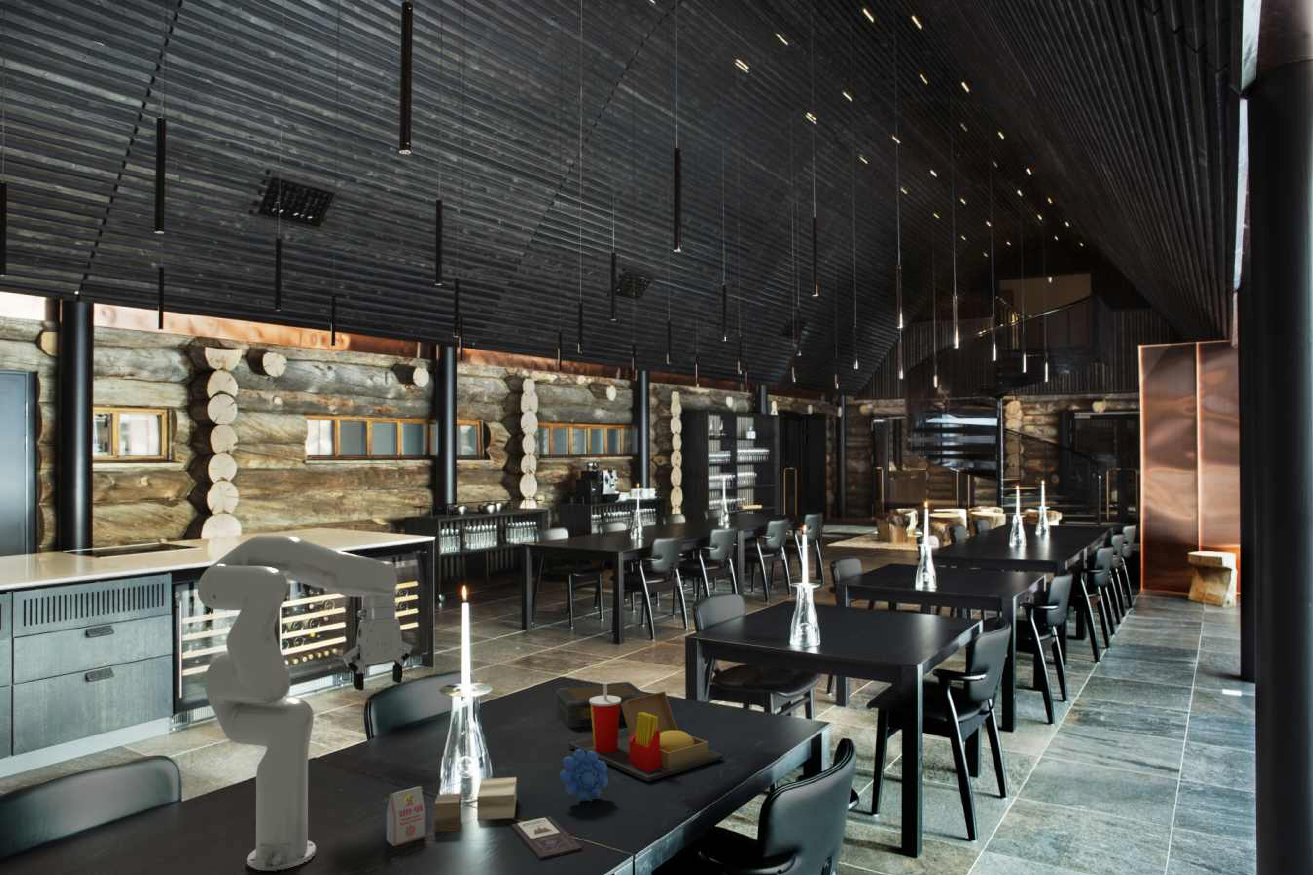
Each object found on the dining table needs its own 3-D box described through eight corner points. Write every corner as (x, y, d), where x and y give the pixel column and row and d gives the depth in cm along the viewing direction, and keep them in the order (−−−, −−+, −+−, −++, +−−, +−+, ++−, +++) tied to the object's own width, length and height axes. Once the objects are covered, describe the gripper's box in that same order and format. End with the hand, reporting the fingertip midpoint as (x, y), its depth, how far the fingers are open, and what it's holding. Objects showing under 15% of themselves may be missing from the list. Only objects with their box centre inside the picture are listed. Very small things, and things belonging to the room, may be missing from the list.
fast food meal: (647, 785, 208) (646, 709, 208) (568, 750, 235) (567, 682, 236) (723, 762, 224) (722, 691, 225) (641, 731, 251) (640, 668, 252)
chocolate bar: (540, 857, 168) (511, 824, 184) (540, 862, 168) (511, 828, 184) (582, 847, 172) (550, 816, 188) (582, 852, 172) (550, 820, 188)
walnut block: (458, 830, 182) (458, 802, 182) (434, 832, 182) (434, 803, 182) (461, 821, 187) (461, 793, 187) (437, 822, 187) (437, 794, 187)
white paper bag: (386, 840, 178) (386, 791, 178) (417, 831, 182) (417, 783, 182) (393, 846, 175) (393, 796, 175) (424, 836, 179) (424, 788, 180)
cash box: (629, 704, 280) (629, 680, 281) (649, 720, 261) (648, 695, 262) (554, 711, 272) (554, 687, 273) (569, 729, 253) (568, 703, 254)
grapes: (566, 811, 191) (565, 757, 192) (557, 801, 197) (556, 748, 198) (614, 803, 196) (614, 750, 196) (604, 793, 202) (603, 741, 203)
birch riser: (514, 817, 188) (514, 794, 189) (477, 819, 188) (477, 796, 188) (516, 798, 199) (516, 776, 200) (481, 800, 198) (481, 778, 199)
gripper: (351, 619, 196) (351, 695, 195) (419, 610, 208) (419, 681, 207) (336, 616, 201) (336, 689, 200) (403, 607, 213) (403, 677, 213)
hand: (378, 685), depth 204 cm, fingers open, 9 cm apart
